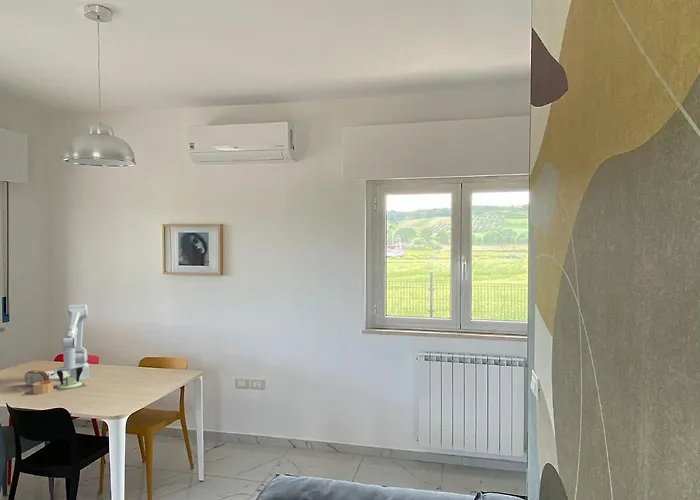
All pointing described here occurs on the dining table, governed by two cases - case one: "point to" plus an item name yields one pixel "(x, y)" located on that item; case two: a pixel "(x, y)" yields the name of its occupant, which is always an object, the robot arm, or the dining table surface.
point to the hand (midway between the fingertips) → (69, 383)
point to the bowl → (43, 387)
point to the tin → (35, 377)
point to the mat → (70, 388)
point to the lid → (69, 383)
